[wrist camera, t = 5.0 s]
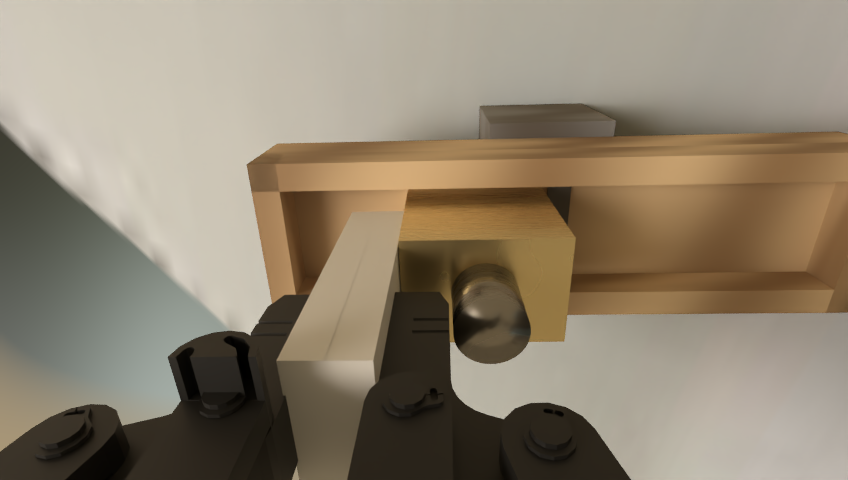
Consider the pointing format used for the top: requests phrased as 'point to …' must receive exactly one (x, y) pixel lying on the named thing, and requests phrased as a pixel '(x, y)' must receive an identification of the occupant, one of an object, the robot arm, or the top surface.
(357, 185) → the beam
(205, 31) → the top surface
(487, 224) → the rider
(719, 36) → the top surface
